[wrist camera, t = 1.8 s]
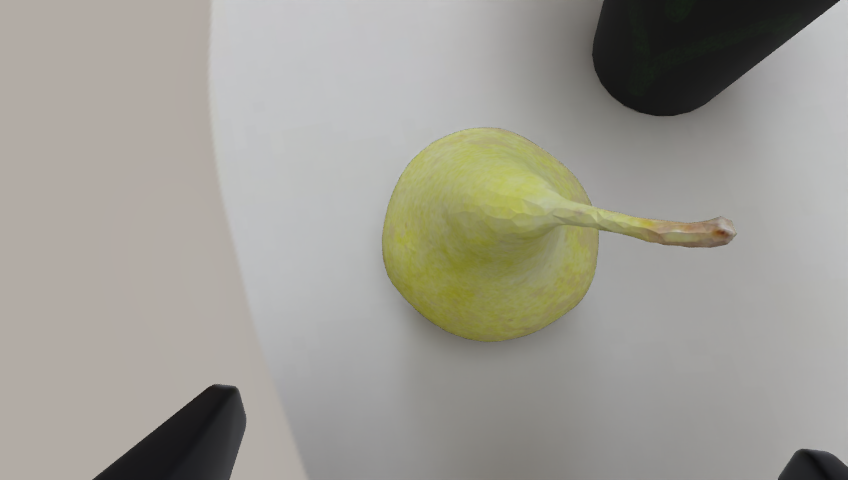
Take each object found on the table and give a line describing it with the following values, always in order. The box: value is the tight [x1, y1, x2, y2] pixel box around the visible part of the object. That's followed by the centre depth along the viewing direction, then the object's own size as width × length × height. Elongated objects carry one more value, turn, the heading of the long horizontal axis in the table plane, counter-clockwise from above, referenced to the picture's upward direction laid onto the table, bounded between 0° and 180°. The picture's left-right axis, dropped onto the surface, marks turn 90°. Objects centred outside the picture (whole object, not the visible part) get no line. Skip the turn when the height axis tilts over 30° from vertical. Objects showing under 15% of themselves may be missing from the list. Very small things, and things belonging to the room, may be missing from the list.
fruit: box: [382, 128, 737, 342], centre depth 15 cm, size 7×8×12 cm
